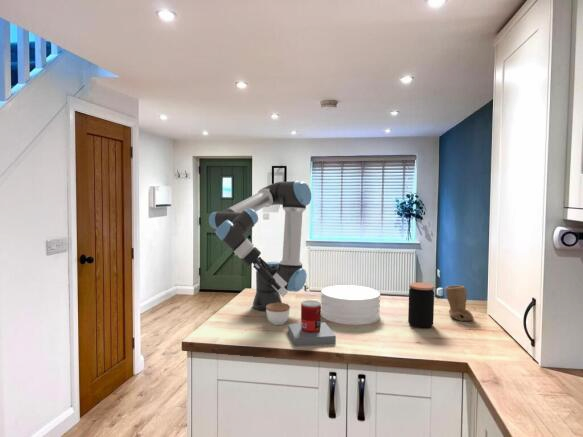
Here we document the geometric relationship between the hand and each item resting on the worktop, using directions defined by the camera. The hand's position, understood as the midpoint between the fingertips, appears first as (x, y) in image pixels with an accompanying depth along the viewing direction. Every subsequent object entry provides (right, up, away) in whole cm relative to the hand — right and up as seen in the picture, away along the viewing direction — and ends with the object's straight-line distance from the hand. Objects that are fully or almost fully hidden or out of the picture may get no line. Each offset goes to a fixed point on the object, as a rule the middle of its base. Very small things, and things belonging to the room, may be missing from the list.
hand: (285, 290), depth 148 cm
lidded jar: (-4, -19, +18) cm, 26 cm away
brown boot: (+83, -19, +29) cm, 90 cm away
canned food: (+10, -17, +1) cm, 20 cm away
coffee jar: (+60, -19, +17) cm, 66 cm away
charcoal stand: (+10, -19, +1) cm, 22 cm away
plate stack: (+31, -18, +31) cm, 47 cm away
